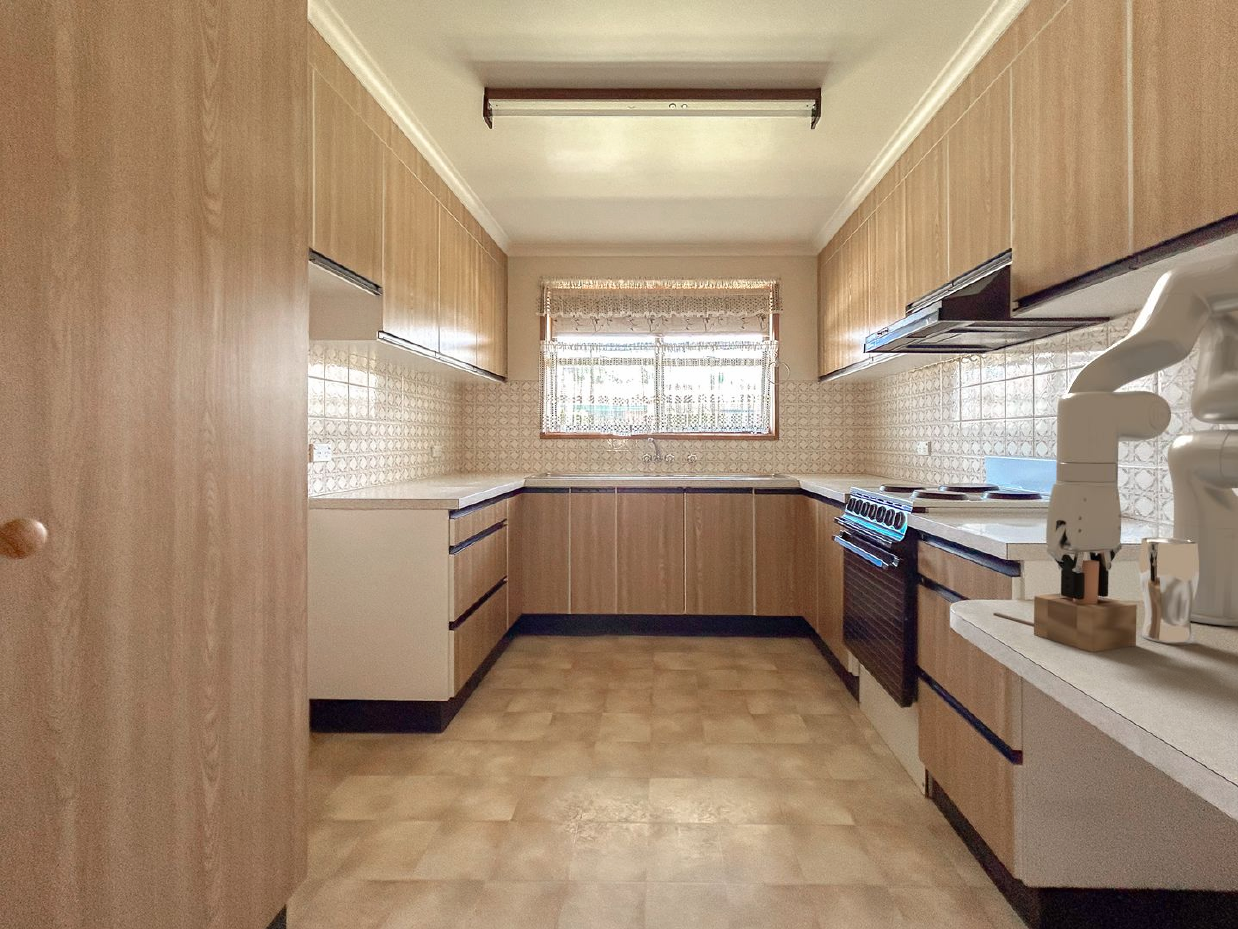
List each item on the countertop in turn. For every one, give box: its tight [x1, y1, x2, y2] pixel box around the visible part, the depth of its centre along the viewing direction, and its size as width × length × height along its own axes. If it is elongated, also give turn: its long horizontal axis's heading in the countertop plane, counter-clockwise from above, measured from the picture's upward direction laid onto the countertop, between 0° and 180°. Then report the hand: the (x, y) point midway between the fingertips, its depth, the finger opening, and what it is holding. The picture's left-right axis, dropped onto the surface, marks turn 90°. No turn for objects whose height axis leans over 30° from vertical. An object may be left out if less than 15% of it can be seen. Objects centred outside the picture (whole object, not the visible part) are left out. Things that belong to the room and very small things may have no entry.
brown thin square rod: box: [992, 612, 1034, 627], centre depth 109 cm, size 1×10×1 cm, turn 19°
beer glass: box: [1138, 536, 1199, 646], centre depth 99 cm, size 7×7×15 cm
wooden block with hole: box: [1033, 592, 1138, 653], centre depth 99 cm, size 9×9×6 cm
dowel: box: [1073, 558, 1099, 605], centre depth 99 cm, size 3×3×12 cm
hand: (1084, 595), depth 99 cm, fingers open, 4 cm apart
